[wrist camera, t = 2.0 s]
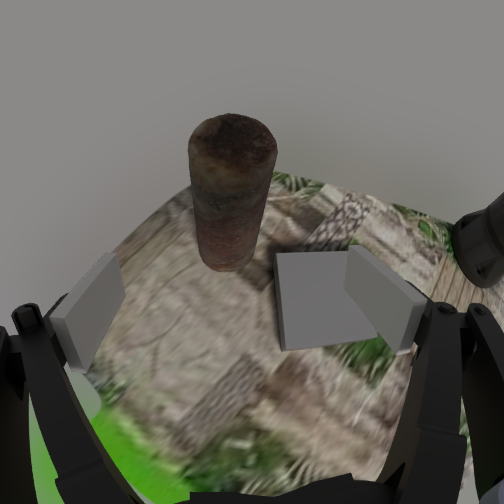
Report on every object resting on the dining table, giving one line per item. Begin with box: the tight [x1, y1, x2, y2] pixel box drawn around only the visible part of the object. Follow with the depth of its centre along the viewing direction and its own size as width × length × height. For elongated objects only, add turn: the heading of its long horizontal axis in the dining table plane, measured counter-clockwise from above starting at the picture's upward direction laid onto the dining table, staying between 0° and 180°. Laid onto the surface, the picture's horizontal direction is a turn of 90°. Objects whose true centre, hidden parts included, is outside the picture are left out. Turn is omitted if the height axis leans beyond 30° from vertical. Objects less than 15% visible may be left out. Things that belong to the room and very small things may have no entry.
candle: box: [188, 113, 278, 272], centre depth 29 cm, size 8×7×20 cm
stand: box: [273, 251, 377, 352], centre depth 35 cm, size 12×12×3 cm
